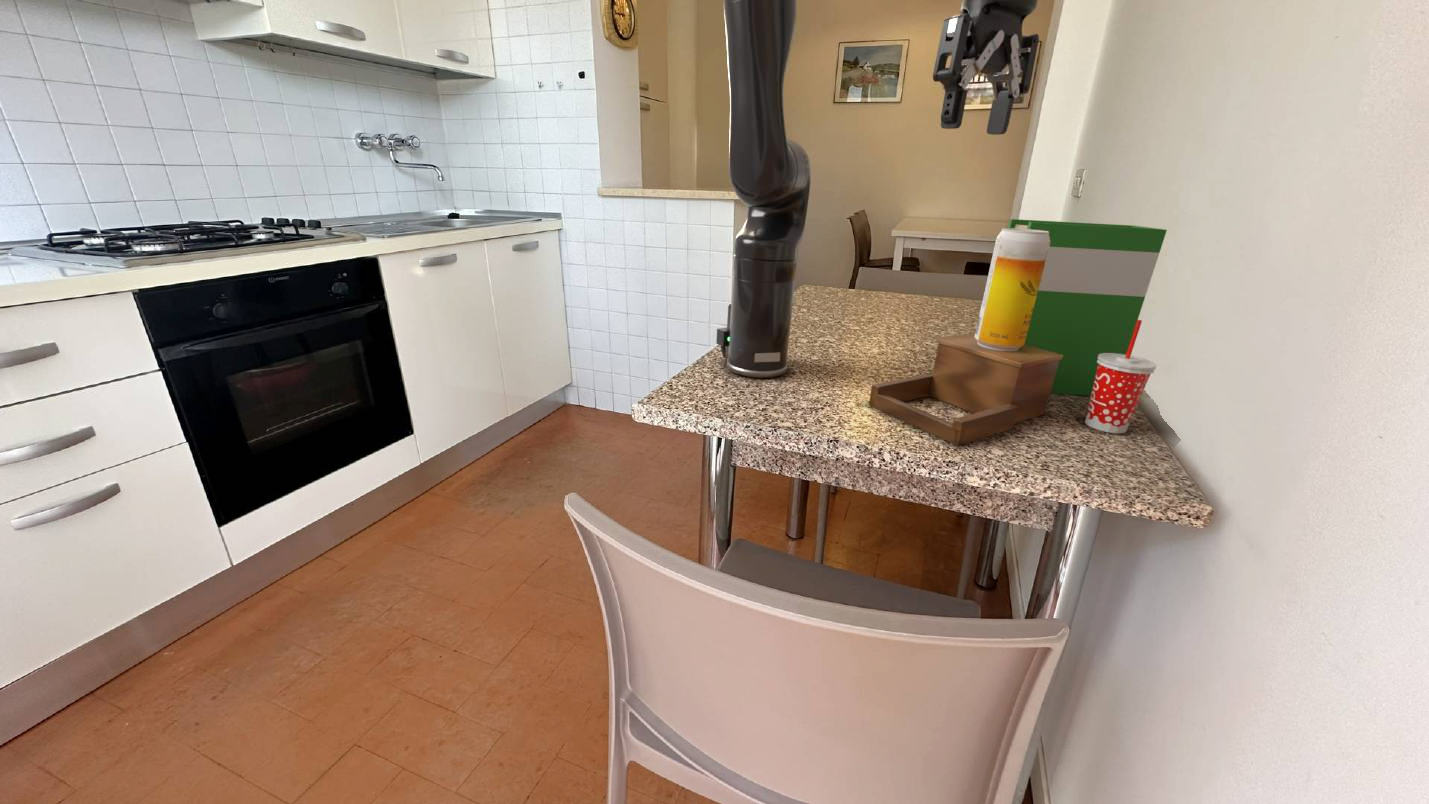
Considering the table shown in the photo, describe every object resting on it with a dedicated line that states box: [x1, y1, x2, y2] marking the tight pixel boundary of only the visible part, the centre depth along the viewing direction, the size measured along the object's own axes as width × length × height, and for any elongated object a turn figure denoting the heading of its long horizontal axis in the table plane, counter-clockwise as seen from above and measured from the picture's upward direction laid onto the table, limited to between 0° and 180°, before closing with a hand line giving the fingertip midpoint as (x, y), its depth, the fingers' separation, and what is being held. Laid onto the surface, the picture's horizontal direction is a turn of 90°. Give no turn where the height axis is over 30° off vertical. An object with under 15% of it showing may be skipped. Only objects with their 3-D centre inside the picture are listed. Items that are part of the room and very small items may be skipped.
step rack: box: [868, 332, 1063, 447], centre depth 75 cm, size 14×20×8 cm
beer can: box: [974, 227, 1050, 351], centre depth 74 cm, size 6×6×15 cm
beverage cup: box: [1084, 319, 1157, 434], centre depth 72 cm, size 6×6×14 cm
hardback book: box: [1007, 218, 1168, 396], centre depth 85 cm, size 18×7×24 cm, turn 86°
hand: (973, 131), depth 66 cm, fingers open, 8 cm apart
